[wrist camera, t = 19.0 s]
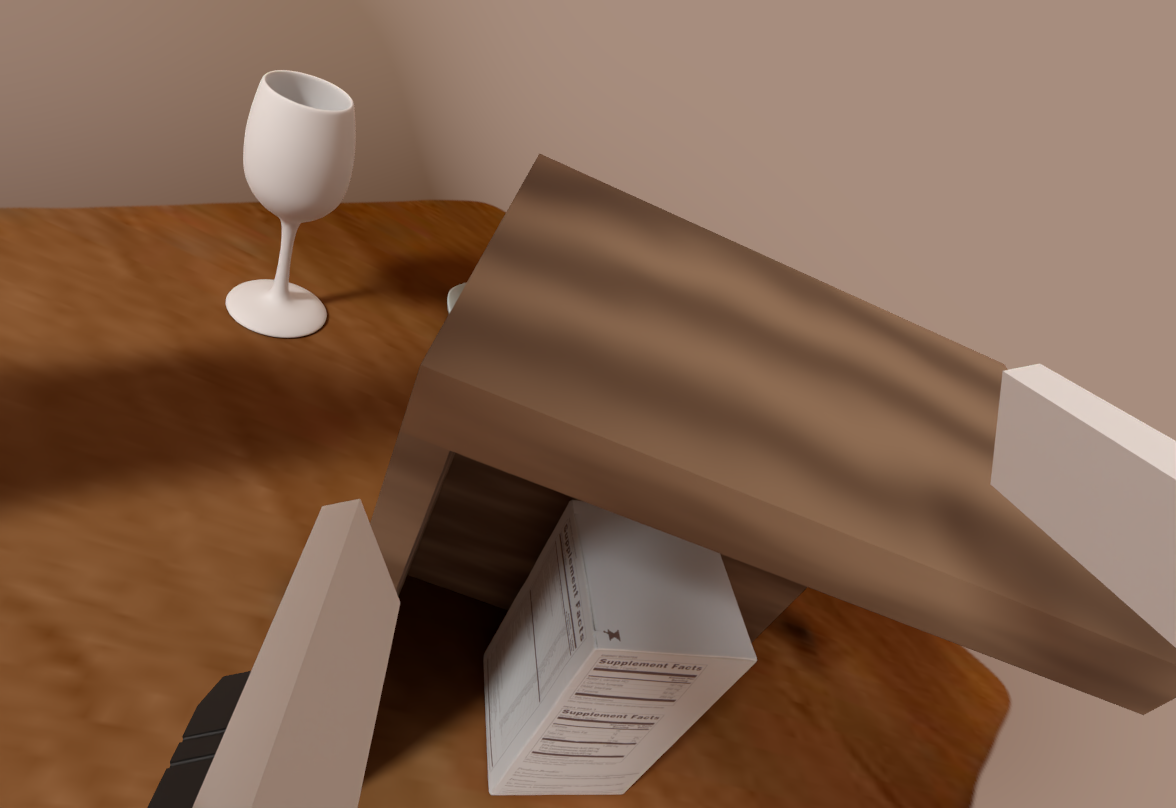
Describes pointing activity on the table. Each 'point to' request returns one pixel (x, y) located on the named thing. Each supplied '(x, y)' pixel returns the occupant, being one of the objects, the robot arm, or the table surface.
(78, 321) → the table surface
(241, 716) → the robot arm
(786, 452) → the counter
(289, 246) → the wineglass
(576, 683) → the supplement box
